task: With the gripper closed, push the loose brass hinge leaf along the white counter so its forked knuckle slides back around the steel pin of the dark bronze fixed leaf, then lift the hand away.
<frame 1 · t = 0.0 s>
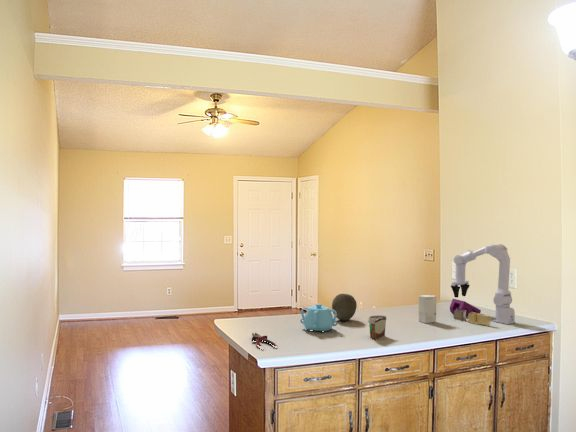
hand: (460, 296, 299), 10 cm above the worktop, tool pointing down, fingers open, 7 cm apart
dark brown ball: (344, 320, 277), on the worktop
skincare box: (427, 322, 275), on the worktop
food container: (374, 337, 241), on the worktop
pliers: (261, 344, 228), on the worktop
loose leaf: (479, 319, 270), point 3 cm above the worktop, slide at 7.0 cm
fixed leaf: (464, 320, 278), on the worktop
decorative pot: (318, 330, 255), on the worktop
mounting bracket: (466, 315, 295), on the worktop
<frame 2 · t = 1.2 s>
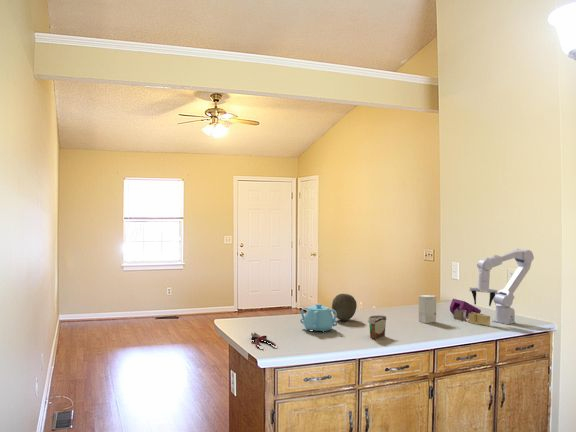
hand: (482, 305, 273), 10 cm above the worktop, tool pointing down, fingers open, 7 cm apart
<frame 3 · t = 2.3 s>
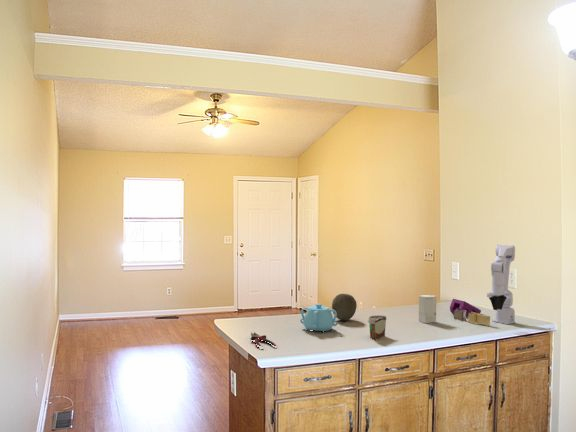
hand: (497, 309, 262), 10 cm above the worktop, tool pointing down, fingers open, 3 cm apart
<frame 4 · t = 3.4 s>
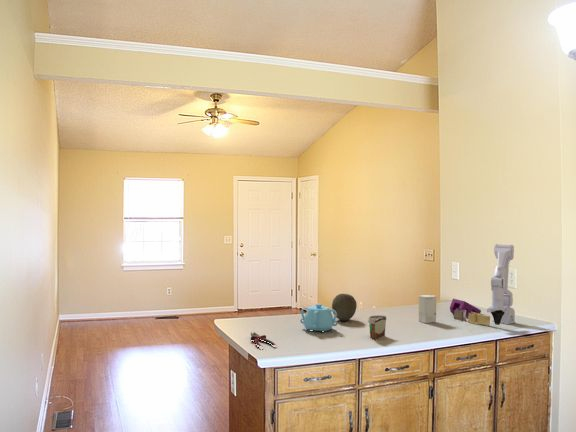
hand: (497, 324, 262), 2 cm above the worktop, tool pointing down, fingers closed
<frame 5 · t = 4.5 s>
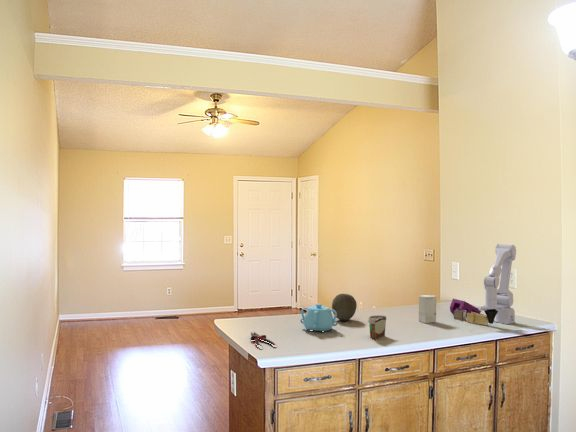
hand: (490, 323, 265), 2 cm above the worktop, tool pointing down, fingers closed
loose leaf: (478, 318, 271), point 3 cm above the worktop, slide at 5.9 cm
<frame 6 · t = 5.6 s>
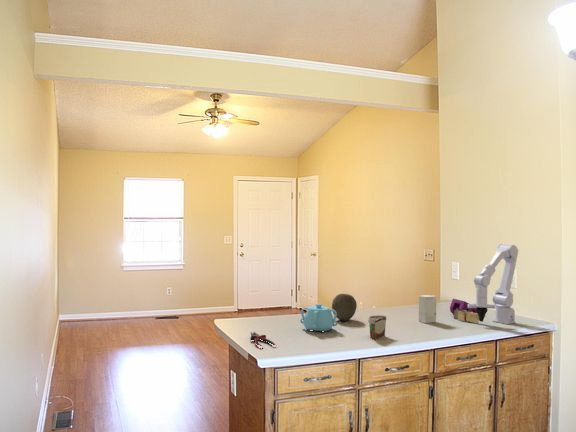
hand: (481, 321, 269), 2 cm above the worktop, tool pointing down, fingers closed
loose leaf: (468, 316, 276), point 3 cm above the worktop, slide at 0.0 cm, touching gripper
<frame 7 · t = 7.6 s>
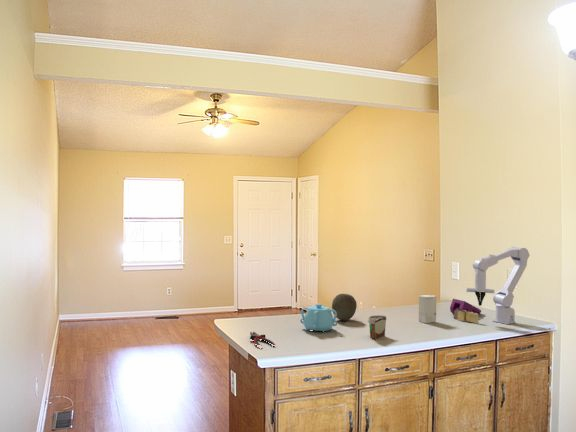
hand: (480, 305, 273), 10 cm above the worktop, tool pointing down, fingers closed
loose leaf: (468, 316, 276), point 3 cm above the worktop, slide at 0.0 cm
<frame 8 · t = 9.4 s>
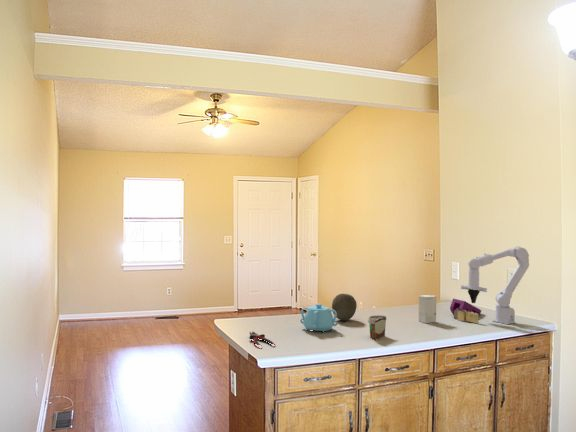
hand: (473, 302, 280), 10 cm above the worktop, tool pointing down, fingers closed
at the end: loose leaf slide at 0.0 cm; the gripper is holding nothing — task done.
